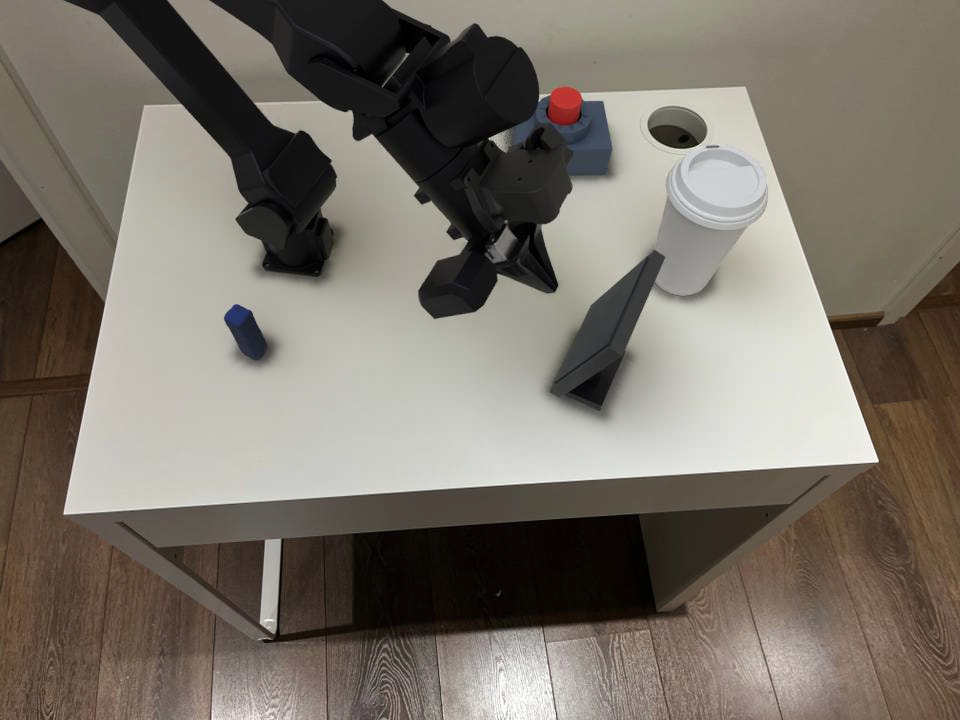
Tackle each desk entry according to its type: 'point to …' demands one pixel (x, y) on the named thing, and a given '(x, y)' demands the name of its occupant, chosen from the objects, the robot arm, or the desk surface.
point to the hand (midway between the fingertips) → (553, 290)
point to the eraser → (246, 331)
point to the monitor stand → (596, 386)
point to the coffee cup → (707, 213)
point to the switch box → (577, 136)
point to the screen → (608, 326)
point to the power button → (564, 106)
